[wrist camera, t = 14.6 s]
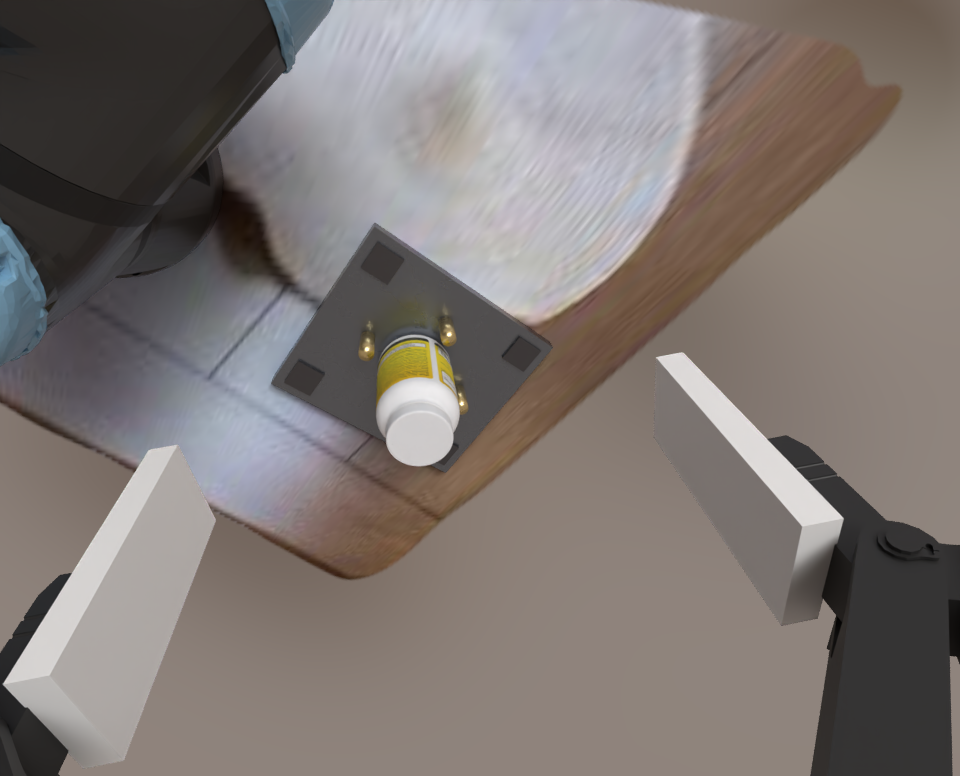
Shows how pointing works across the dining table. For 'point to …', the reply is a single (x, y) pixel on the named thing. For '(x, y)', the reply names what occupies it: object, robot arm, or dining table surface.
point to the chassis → (400, 312)
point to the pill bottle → (416, 400)
